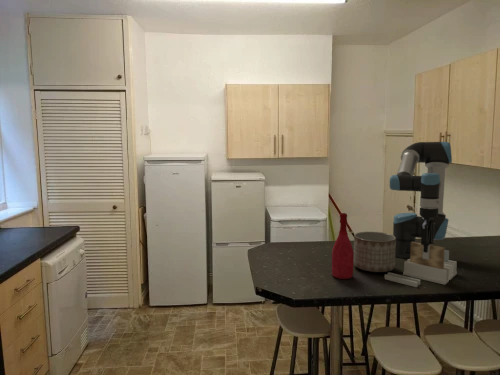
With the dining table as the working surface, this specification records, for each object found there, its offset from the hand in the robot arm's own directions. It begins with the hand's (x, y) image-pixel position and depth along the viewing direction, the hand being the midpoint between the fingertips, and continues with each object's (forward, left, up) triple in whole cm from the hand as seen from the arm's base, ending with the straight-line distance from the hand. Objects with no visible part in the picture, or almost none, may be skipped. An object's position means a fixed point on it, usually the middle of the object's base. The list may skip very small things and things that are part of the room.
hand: (426, 258), depth 162 cm
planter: (-23, -4, -9) cm, 25 cm away
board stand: (-6, -12, -9) cm, 16 cm away
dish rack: (0, +6, -9) cm, 11 cm away
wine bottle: (-29, -24, -9) cm, 39 cm away
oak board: (0, 0, -6) cm, 6 cm away
